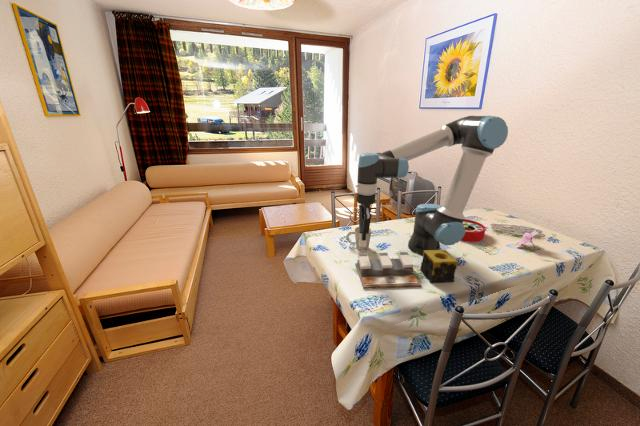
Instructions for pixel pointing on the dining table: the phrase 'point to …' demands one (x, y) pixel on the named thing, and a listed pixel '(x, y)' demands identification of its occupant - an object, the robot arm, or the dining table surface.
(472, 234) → the toy clock
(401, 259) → the block
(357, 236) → the mug
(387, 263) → the rocker middle
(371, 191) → the robot arm
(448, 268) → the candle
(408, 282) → the switch board
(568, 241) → the dining table surface
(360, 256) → the block
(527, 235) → the lily
